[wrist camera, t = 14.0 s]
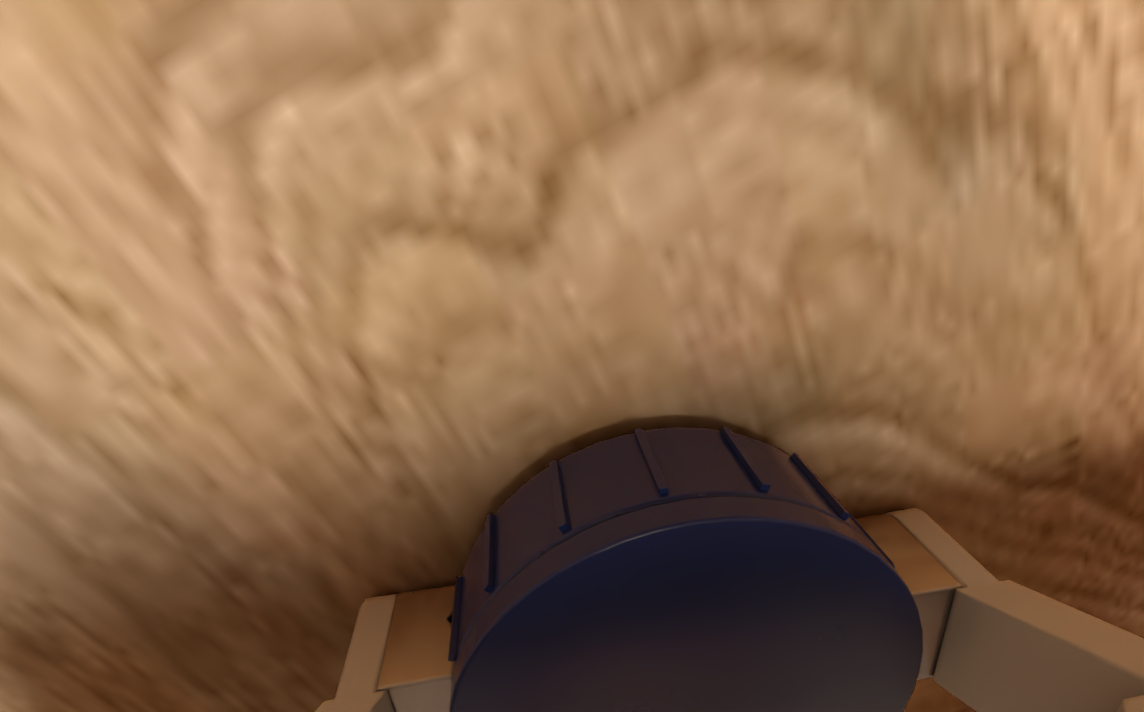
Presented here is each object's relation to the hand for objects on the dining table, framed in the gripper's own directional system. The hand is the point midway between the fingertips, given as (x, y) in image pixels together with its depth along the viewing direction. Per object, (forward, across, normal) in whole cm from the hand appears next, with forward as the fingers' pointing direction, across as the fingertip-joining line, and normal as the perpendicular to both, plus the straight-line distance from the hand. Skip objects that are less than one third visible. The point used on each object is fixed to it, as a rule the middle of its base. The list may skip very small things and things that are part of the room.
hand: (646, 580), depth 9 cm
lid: (-2, 0, 0) cm, 2 cm away
